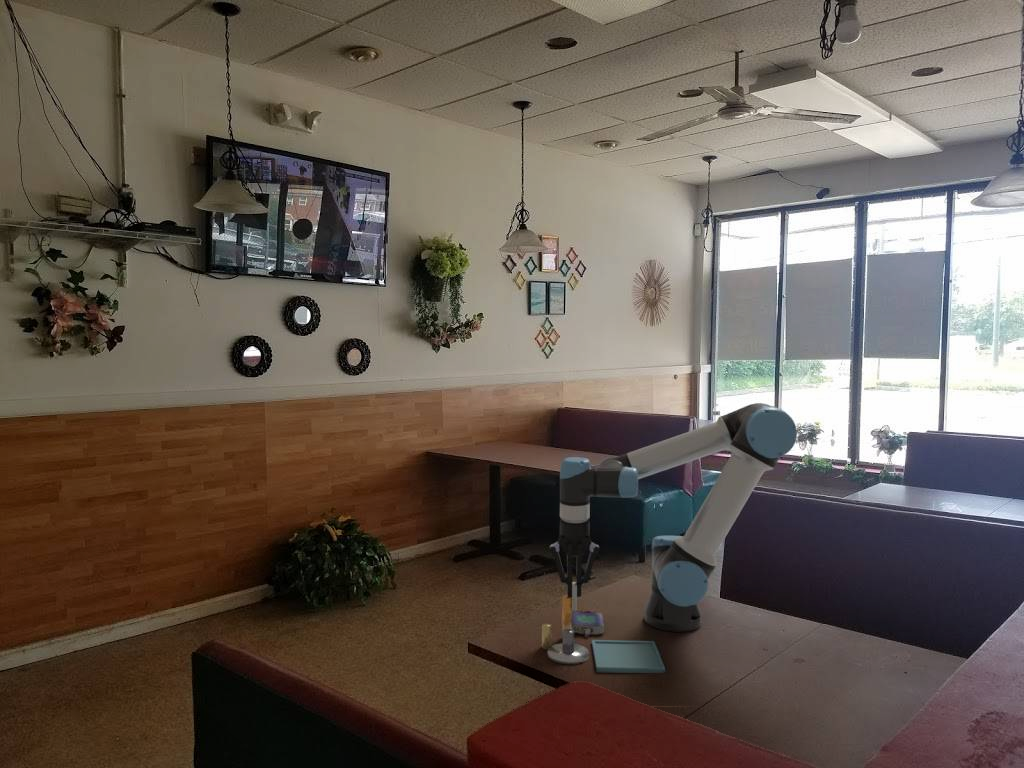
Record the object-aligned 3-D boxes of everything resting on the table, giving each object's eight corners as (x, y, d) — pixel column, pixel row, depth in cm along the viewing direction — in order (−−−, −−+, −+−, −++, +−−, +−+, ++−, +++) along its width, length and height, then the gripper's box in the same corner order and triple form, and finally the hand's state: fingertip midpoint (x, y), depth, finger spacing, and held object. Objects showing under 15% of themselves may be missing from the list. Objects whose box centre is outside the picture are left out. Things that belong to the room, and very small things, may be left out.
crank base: (587, 646, 185) (587, 622, 184) (590, 664, 174) (590, 639, 174) (541, 645, 185) (541, 621, 185) (542, 663, 174) (542, 639, 174)
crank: (573, 643, 181) (573, 607, 181) (562, 643, 181) (563, 607, 181) (571, 629, 190) (572, 595, 190) (561, 629, 190) (562, 595, 190)
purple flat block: (602, 611, 199) (605, 629, 189) (601, 622, 200) (604, 640, 189) (568, 609, 200) (569, 626, 189) (567, 619, 200) (568, 637, 190)
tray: (654, 645, 185) (654, 641, 185) (665, 673, 170) (665, 668, 170) (591, 644, 186) (591, 639, 186) (596, 672, 170) (596, 667, 170)
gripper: (598, 514, 191) (597, 603, 193) (549, 514, 191) (549, 602, 194) (601, 523, 183) (600, 614, 186) (549, 522, 184) (549, 614, 186)
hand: (574, 608), depth 190 cm, fingers closed
